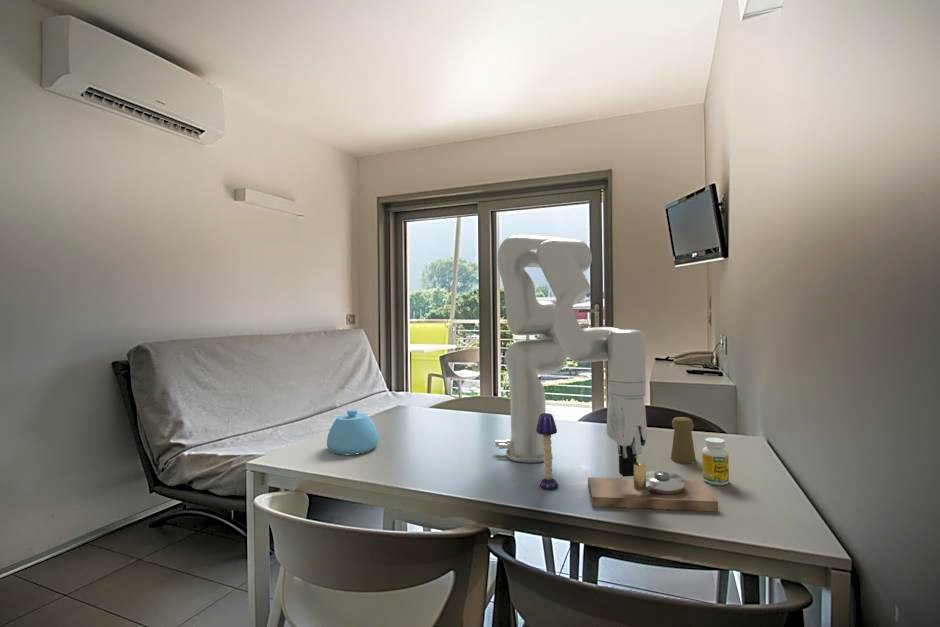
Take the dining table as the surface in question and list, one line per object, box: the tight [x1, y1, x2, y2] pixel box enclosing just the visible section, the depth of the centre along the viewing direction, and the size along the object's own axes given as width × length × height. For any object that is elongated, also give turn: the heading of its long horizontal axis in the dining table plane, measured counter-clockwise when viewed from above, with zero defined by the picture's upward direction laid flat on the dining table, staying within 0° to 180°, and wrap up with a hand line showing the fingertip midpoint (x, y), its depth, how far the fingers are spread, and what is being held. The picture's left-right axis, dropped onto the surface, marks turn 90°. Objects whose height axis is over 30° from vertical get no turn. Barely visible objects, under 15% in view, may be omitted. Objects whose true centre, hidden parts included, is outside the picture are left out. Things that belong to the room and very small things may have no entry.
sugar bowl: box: [326, 409, 380, 455], centre depth 142 cm, size 15×15×12 cm
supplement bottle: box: [701, 437, 730, 486], centre depth 110 cm, size 5×5×10 cm
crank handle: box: [633, 461, 686, 494], centre depth 101 cm, size 13×9×6 cm
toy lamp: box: [536, 412, 559, 491], centre depth 109 cm, size 5×5×17 cm
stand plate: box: [587, 476, 719, 512], centre depth 101 cm, size 24×11×2 cm, turn 81°
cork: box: [670, 416, 697, 464], centre depth 125 cm, size 6×6×11 cm
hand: (627, 474), depth 101 cm, fingers closed
